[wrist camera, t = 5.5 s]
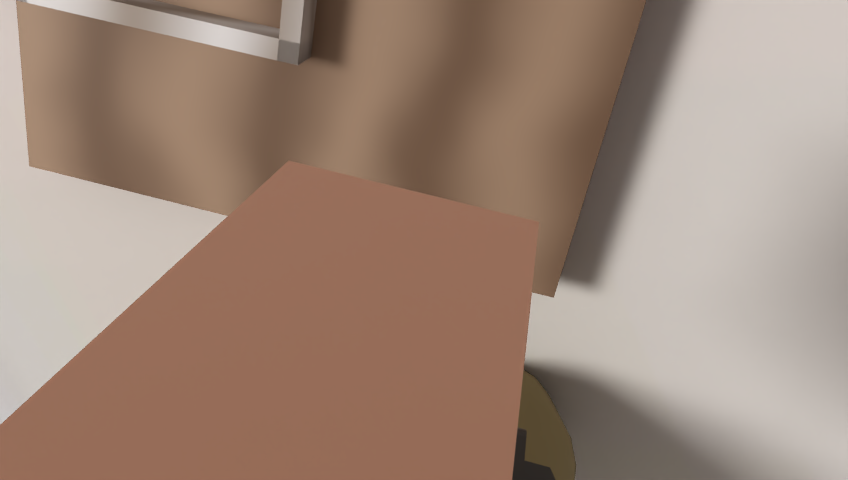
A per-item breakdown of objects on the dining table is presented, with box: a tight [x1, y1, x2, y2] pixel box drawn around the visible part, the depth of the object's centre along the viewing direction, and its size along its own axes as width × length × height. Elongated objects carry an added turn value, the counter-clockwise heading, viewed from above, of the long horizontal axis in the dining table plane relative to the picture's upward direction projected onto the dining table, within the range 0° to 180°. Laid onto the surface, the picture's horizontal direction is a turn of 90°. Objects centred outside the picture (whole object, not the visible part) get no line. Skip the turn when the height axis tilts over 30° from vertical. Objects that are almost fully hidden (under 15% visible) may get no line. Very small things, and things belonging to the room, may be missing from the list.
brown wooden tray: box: [16, 0, 646, 298], centre depth 28 cm, size 24×16×4 cm
